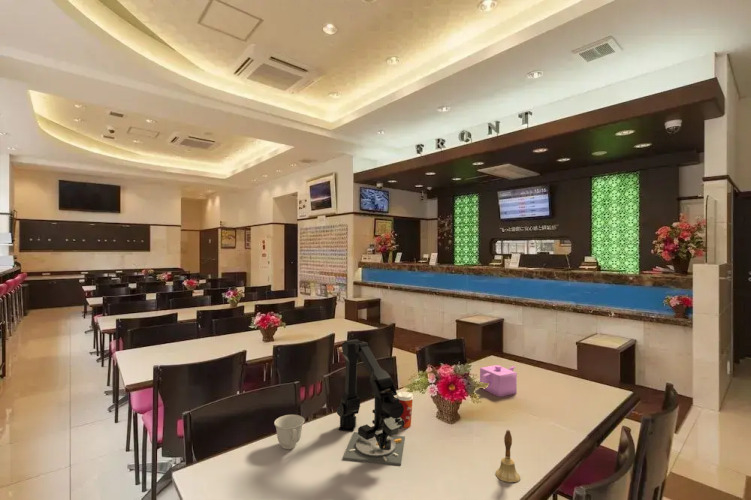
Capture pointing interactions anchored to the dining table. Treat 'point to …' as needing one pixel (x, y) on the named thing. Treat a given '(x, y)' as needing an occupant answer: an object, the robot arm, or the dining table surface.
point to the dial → (375, 447)
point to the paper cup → (406, 407)
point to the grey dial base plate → (391, 458)
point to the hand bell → (507, 463)
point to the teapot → (499, 380)
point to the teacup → (289, 430)
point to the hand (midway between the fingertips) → (381, 448)
